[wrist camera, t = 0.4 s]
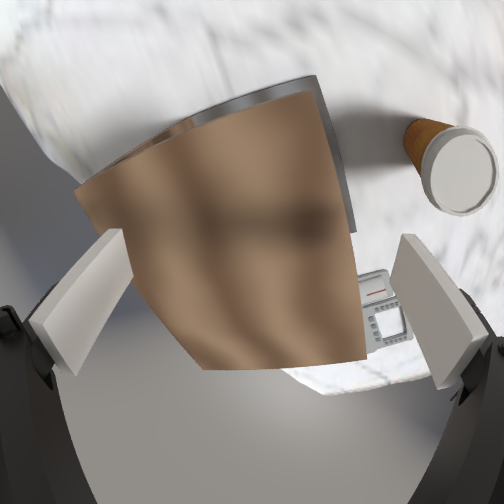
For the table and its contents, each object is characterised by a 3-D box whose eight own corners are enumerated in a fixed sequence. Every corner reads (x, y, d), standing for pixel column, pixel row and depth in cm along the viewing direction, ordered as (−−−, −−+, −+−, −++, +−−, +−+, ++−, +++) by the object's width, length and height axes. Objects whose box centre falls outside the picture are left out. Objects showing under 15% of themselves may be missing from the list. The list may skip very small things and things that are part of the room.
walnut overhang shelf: (315, 75, 28) (332, 86, 11) (355, 228, 39) (377, 357, 23) (182, 120, 34) (73, 191, 17) (241, 250, 46) (203, 369, 29)
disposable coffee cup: (407, 184, 34) (438, 233, 24) (380, 122, 30) (412, 150, 20) (462, 160, 29) (507, 201, 20) (440, 96, 25) (491, 116, 16)
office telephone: (287, 302, 48) (401, 268, 40) (288, 291, 50) (397, 258, 42) (329, 367, 59) (415, 346, 50) (329, 358, 61) (413, 336, 52)
